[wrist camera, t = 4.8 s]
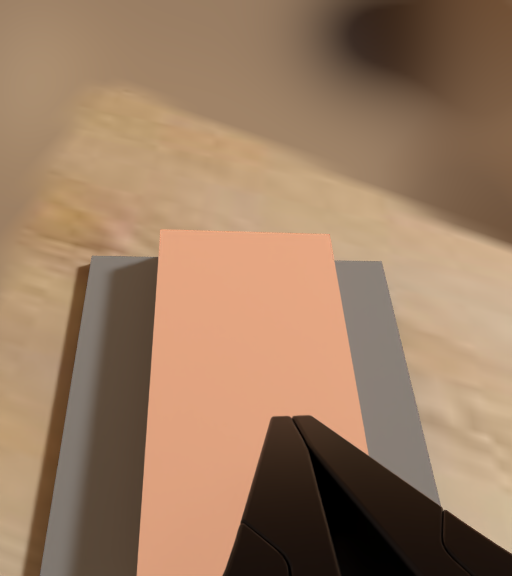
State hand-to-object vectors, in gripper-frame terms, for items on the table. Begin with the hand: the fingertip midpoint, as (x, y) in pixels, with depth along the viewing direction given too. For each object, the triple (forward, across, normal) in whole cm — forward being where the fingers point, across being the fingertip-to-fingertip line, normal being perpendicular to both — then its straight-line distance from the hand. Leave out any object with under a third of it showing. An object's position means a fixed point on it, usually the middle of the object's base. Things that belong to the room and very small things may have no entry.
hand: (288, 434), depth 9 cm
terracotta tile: (+2, 0, +6) cm, 6 cm away
